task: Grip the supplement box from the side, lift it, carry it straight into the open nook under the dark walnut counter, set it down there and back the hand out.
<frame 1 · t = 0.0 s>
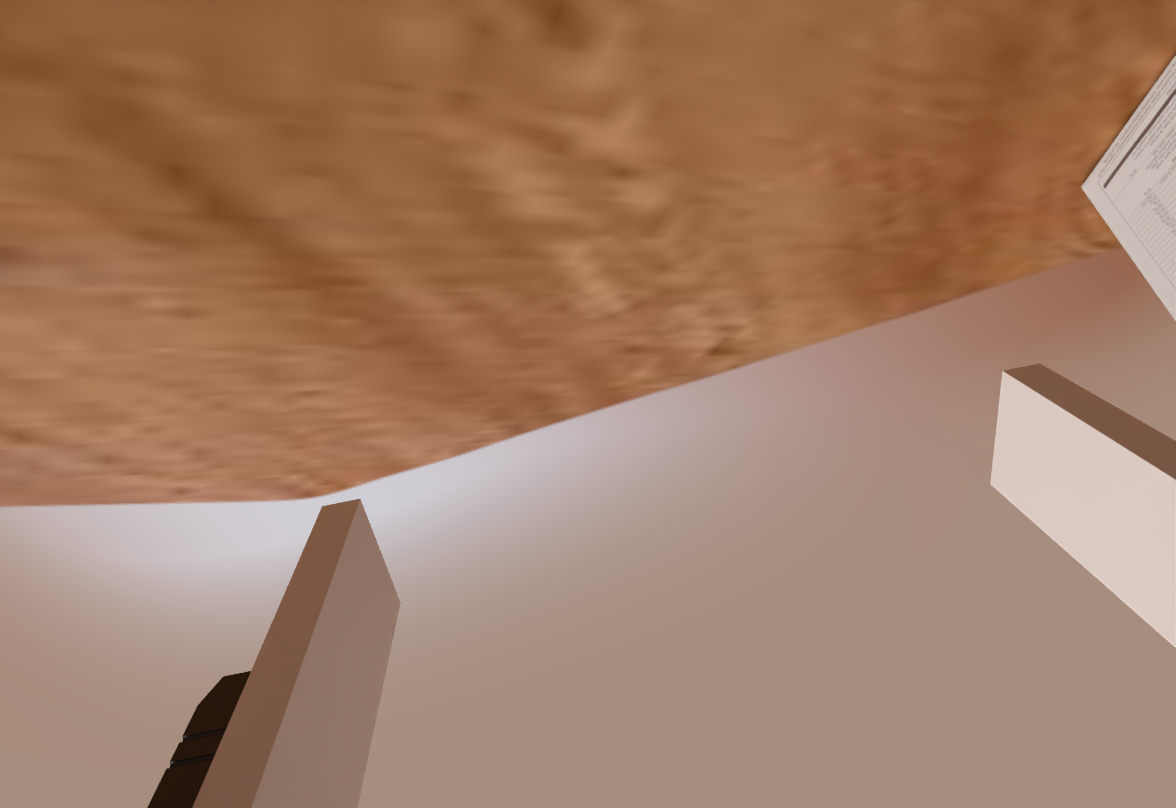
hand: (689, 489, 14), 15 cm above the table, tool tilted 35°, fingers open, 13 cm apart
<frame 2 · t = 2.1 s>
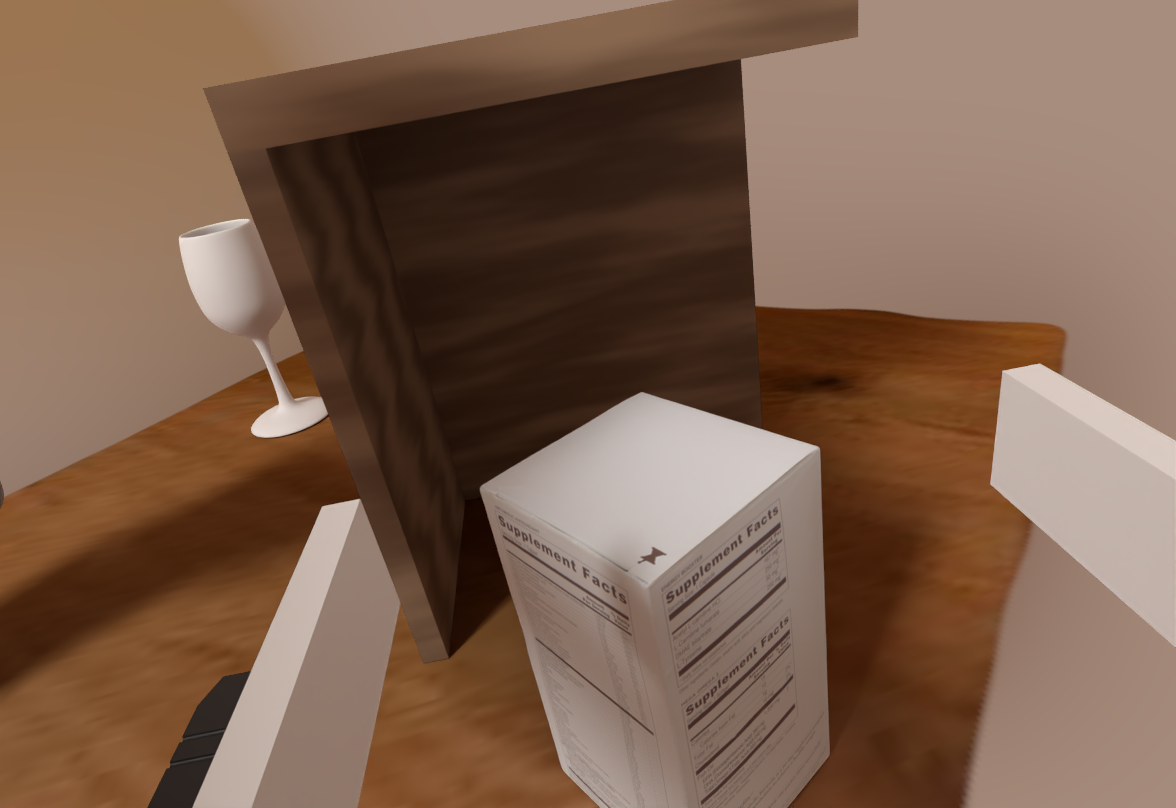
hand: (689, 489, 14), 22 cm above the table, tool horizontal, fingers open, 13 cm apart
wineglass: (293, 419, 76), on the table
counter: (618, 529, 49), on the table
supplement box: (692, 764, 33), on the table
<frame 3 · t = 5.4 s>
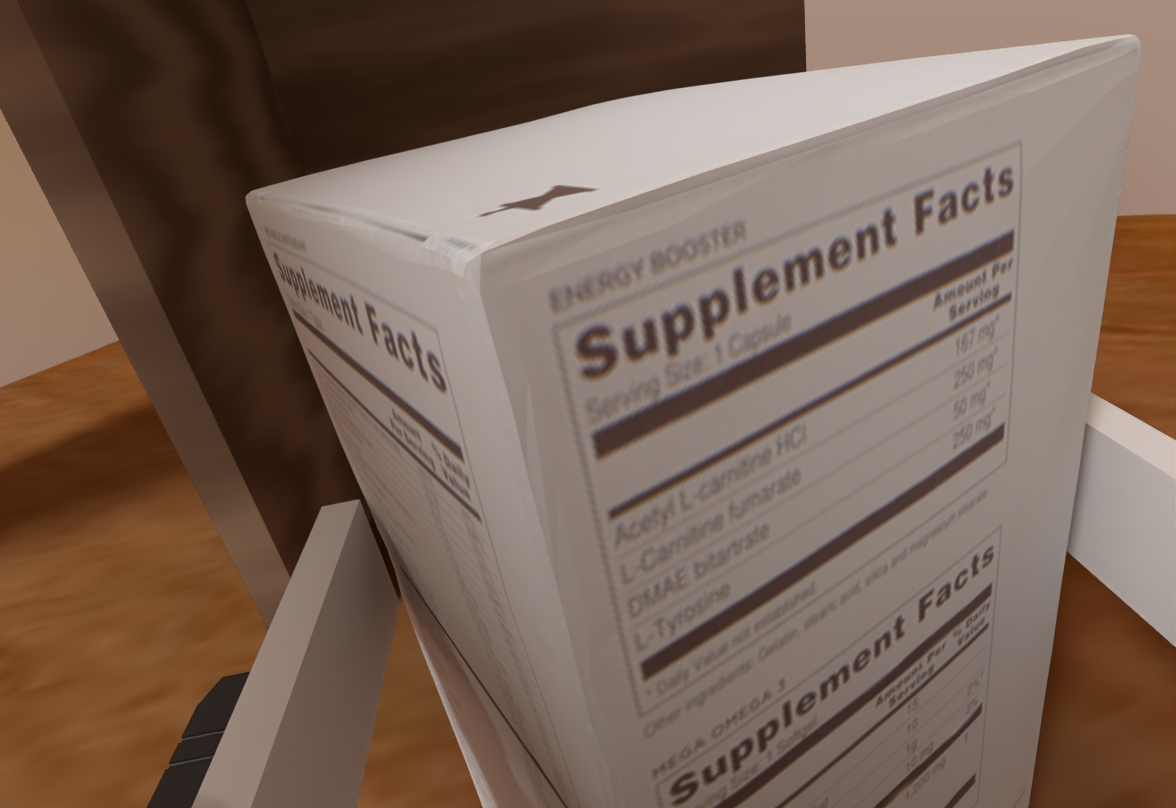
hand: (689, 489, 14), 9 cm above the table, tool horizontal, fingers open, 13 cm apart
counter: (609, 467, 33), on the table
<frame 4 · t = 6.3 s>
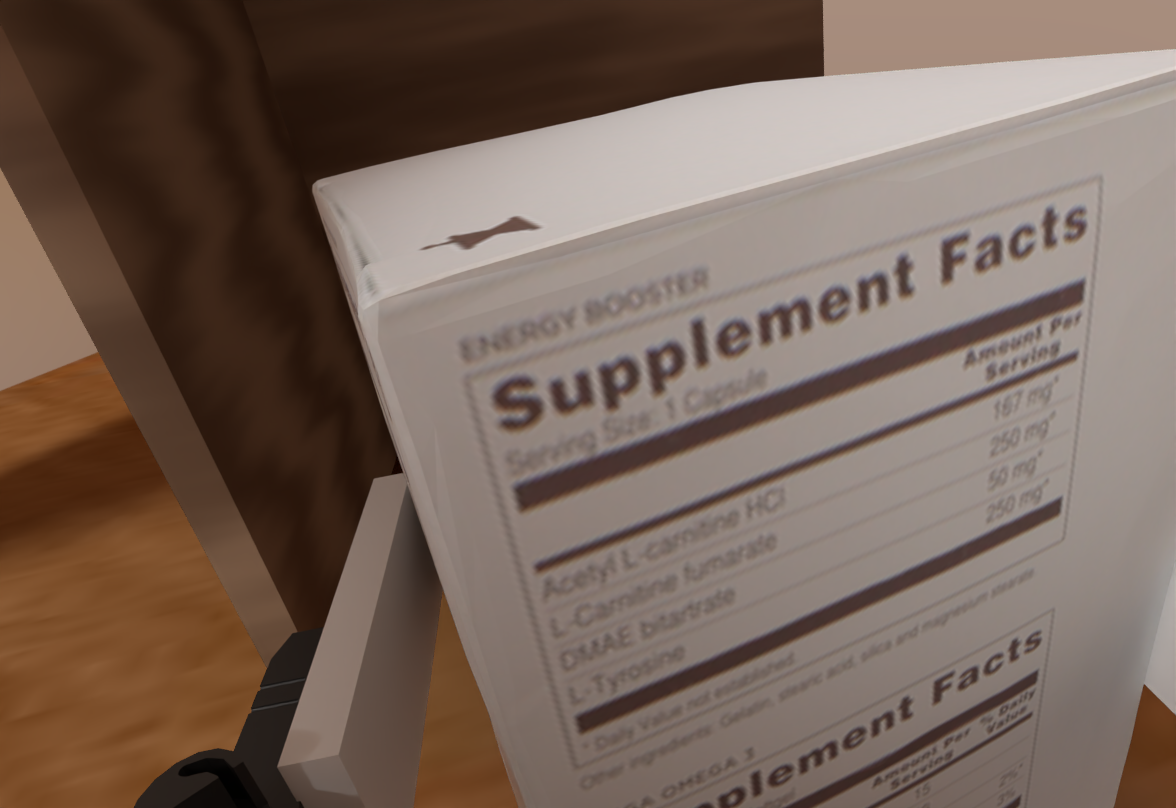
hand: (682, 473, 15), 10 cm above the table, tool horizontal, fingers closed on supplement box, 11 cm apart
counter: (618, 483, 32), on the table
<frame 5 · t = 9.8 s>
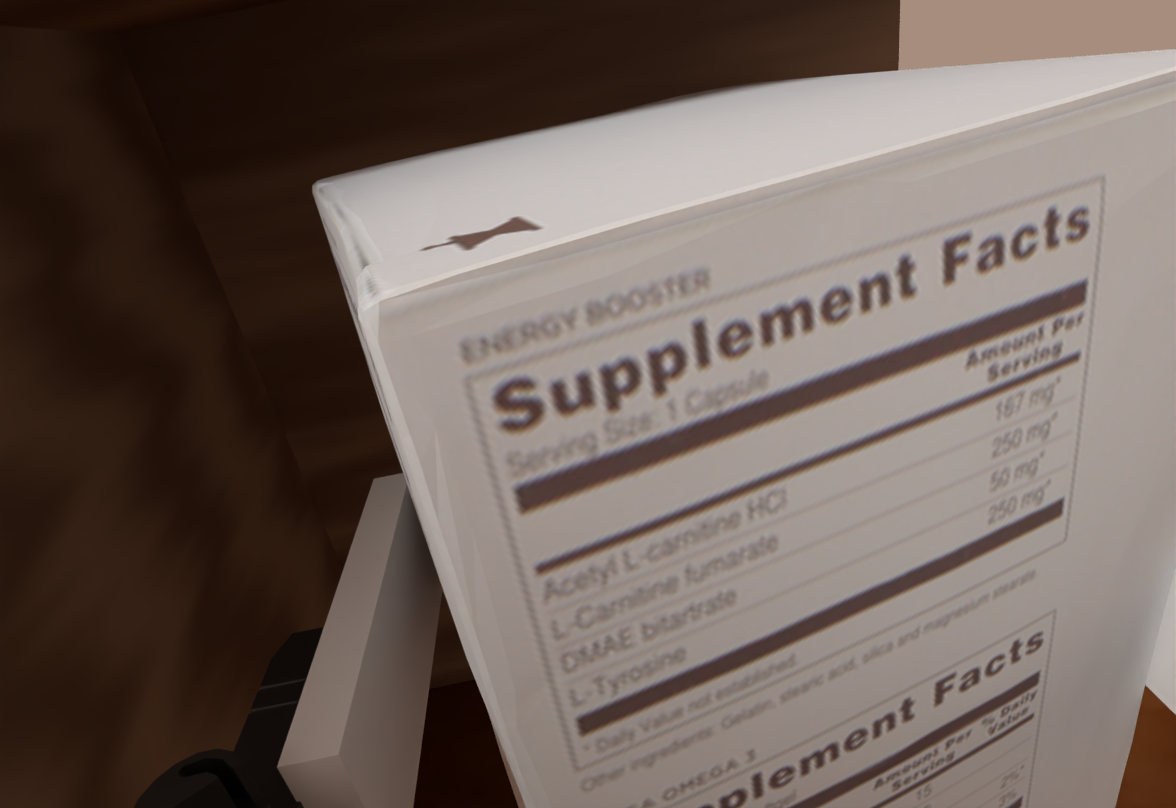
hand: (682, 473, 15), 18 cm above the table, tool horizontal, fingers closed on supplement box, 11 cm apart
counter: (655, 790, 27), on the table
when the fingers open (11 cm above the table, at t = 13.7 s): supplement box drops 1 cm, on the table.
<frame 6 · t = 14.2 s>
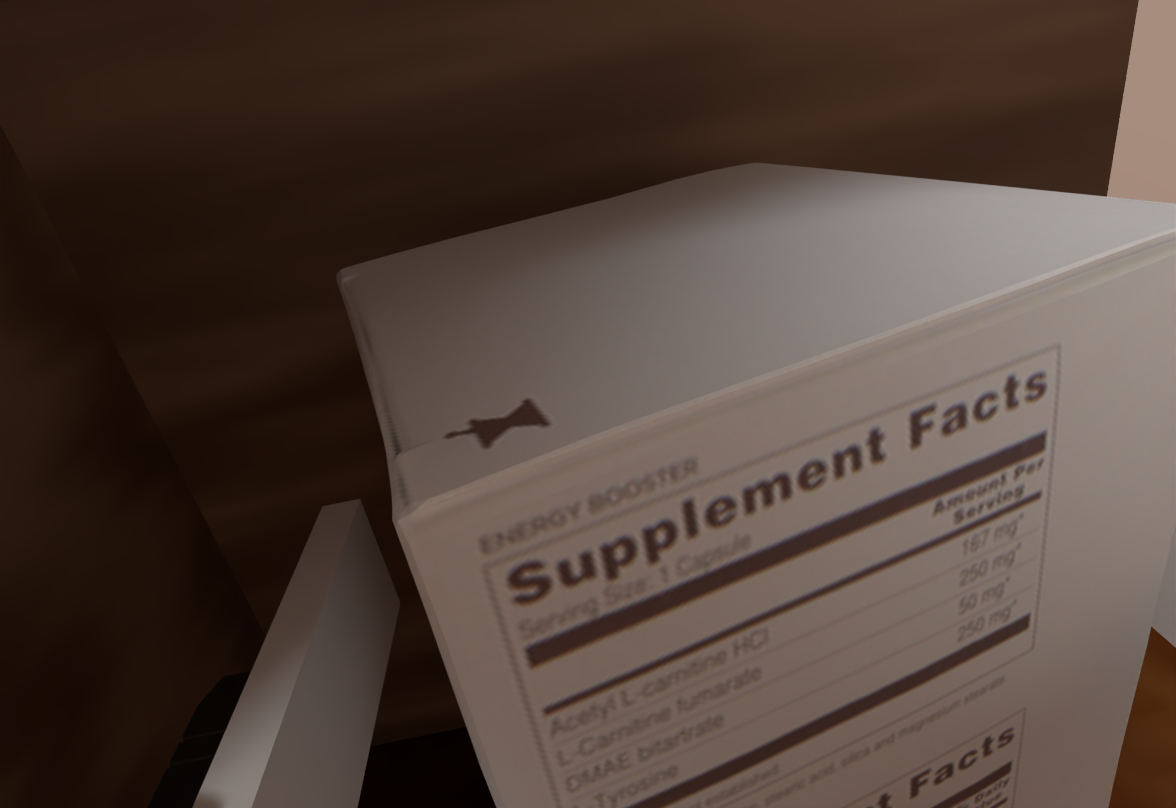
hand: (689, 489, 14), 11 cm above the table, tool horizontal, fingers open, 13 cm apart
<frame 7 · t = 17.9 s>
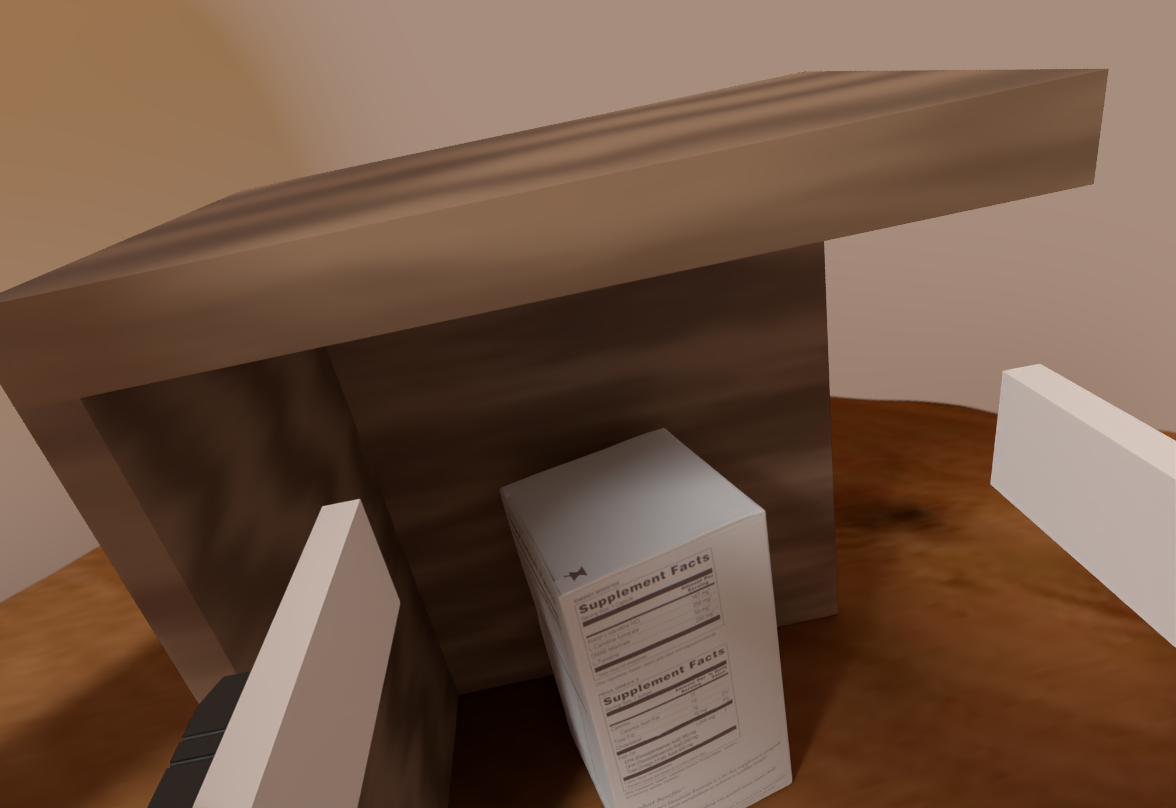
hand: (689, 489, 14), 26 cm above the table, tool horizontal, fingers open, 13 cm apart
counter: (658, 762, 37), on the table
supplement box: (672, 754, 38), on the table
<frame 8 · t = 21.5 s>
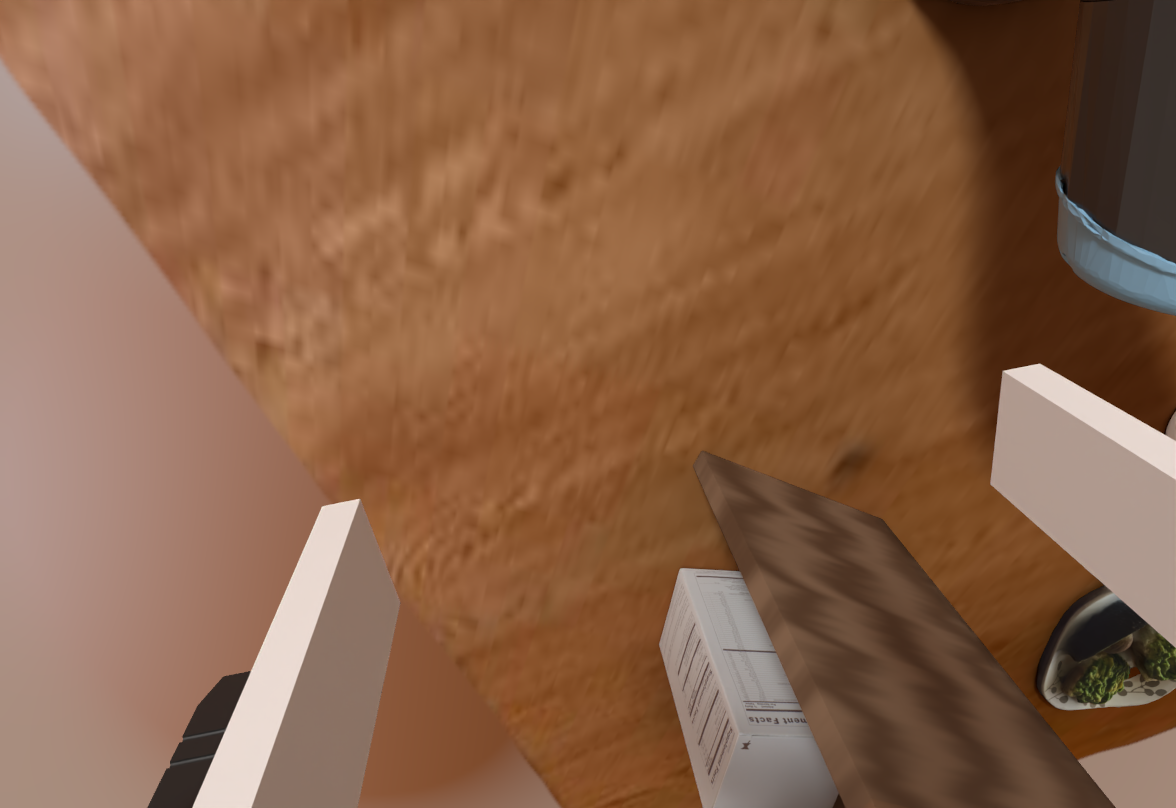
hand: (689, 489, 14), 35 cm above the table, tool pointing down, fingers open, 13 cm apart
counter: (718, 601, 62), on the table
salad plate: (1114, 633, 70), on the table
supplement box: (717, 607, 63), on the table
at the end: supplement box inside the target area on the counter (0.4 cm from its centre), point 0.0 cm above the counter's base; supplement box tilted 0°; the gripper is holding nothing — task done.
